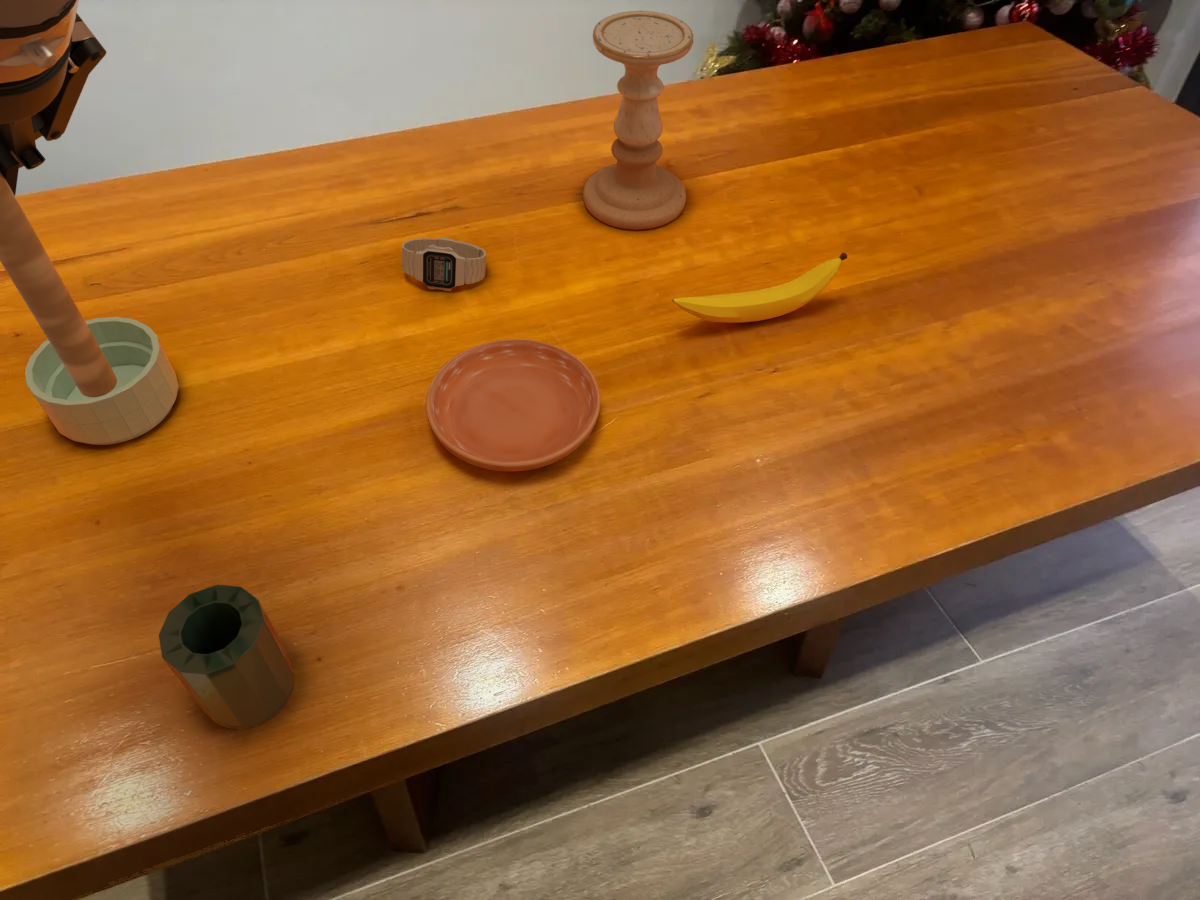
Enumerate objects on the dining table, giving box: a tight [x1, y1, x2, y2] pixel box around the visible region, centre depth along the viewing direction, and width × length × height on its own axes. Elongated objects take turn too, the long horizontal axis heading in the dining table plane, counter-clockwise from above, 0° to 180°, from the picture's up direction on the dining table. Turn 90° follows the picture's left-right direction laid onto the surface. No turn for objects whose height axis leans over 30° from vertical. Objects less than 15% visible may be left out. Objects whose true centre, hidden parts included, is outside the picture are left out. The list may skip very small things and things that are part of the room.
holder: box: [158, 584, 295, 730], centre depth 64 cm, size 7×7×9 cm
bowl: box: [24, 316, 180, 446], centre depth 83 cm, size 11×11×6 cm
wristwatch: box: [401, 236, 487, 292], centre depth 97 cm, size 9×6×5 cm
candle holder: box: [582, 10, 694, 231], centre depth 100 cm, size 12×12×20 cm
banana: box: [671, 252, 848, 323], centre depth 92 cm, size 3×19×6 cm, turn 108°
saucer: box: [425, 338, 601, 472], centre depth 84 cm, size 16×16×3 cm
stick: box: [0, 170, 117, 397], centre depth 57 cm, size 3×3×24 cm
